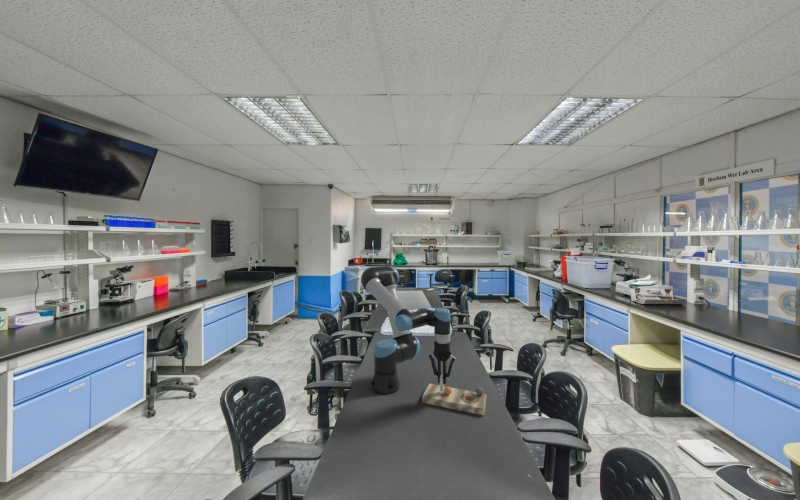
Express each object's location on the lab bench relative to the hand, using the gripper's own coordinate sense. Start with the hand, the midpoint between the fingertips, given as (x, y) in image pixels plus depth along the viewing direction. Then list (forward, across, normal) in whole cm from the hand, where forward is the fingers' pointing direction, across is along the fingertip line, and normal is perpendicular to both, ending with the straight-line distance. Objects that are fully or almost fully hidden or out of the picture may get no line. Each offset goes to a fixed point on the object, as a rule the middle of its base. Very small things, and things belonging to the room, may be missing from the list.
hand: (441, 389), depth 143 cm
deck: (+5, +6, 0) cm, 8 cm away
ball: (0, +3, 0) cm, 3 cm away
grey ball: (0, +17, +5) cm, 18 cm away
